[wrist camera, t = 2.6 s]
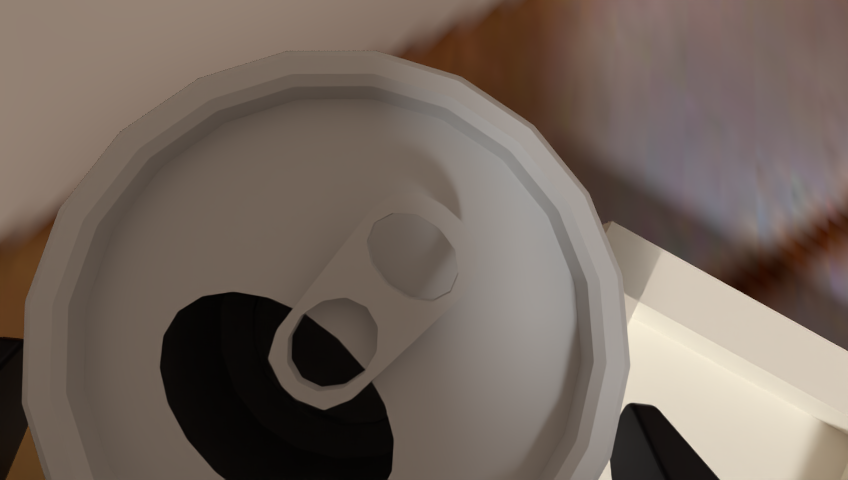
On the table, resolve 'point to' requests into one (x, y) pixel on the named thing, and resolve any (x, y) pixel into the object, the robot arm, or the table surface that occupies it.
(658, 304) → the divider tray
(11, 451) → the robot arm
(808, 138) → the table surface
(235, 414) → the can
